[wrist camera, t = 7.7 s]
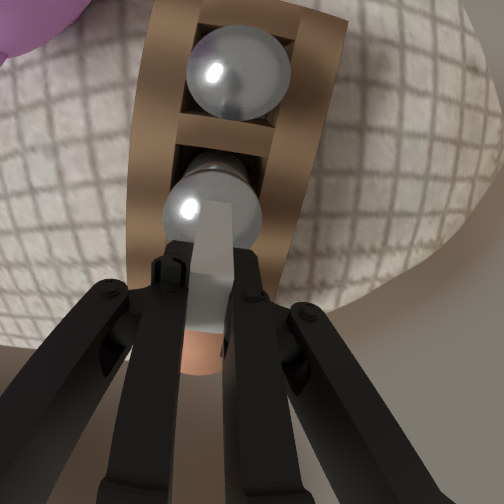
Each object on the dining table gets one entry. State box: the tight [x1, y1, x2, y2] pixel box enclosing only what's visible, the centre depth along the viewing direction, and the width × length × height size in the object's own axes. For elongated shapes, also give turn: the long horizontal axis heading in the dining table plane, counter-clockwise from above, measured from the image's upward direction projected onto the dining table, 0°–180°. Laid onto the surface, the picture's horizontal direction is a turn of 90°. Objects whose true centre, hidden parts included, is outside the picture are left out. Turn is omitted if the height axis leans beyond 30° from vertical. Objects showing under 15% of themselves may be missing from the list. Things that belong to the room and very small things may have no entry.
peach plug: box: [180, 330, 224, 375], centre depth 22 cm, size 5×5×7 cm
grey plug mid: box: [162, 150, 262, 249], centre depth 19 cm, size 5×5×7 cm
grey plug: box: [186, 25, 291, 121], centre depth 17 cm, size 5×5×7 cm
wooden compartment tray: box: [126, 0, 348, 302], centre depth 22 cm, size 27×12×5 cm, turn 169°
